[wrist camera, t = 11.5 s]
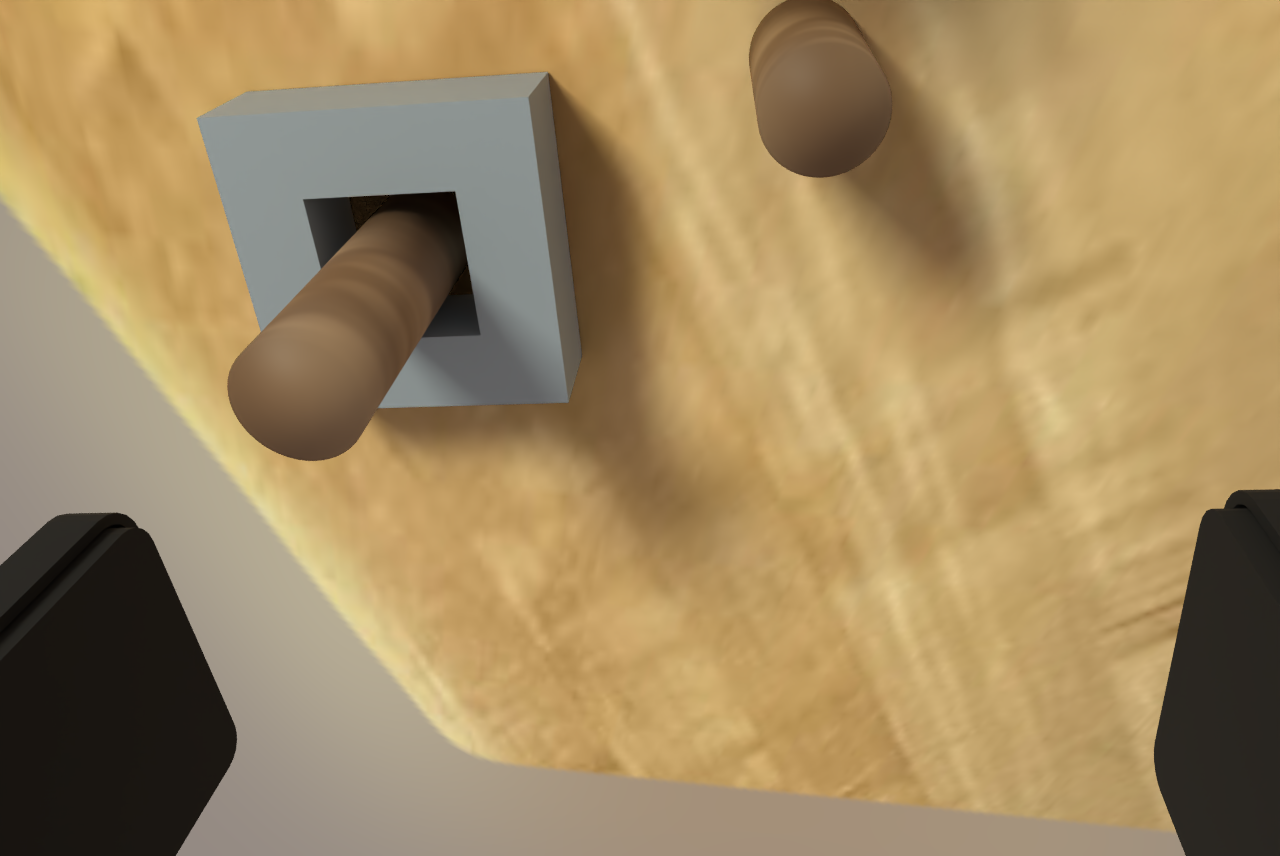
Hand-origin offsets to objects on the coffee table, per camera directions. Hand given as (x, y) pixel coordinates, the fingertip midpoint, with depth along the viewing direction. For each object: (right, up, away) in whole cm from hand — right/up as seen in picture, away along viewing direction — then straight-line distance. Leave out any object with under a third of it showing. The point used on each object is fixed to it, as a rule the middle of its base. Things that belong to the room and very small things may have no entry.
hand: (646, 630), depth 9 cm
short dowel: (+5, +13, +21) cm, 25 cm away
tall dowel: (-7, +9, +25) cm, 28 cm away
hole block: (-8, +9, +25) cm, 28 cm away
